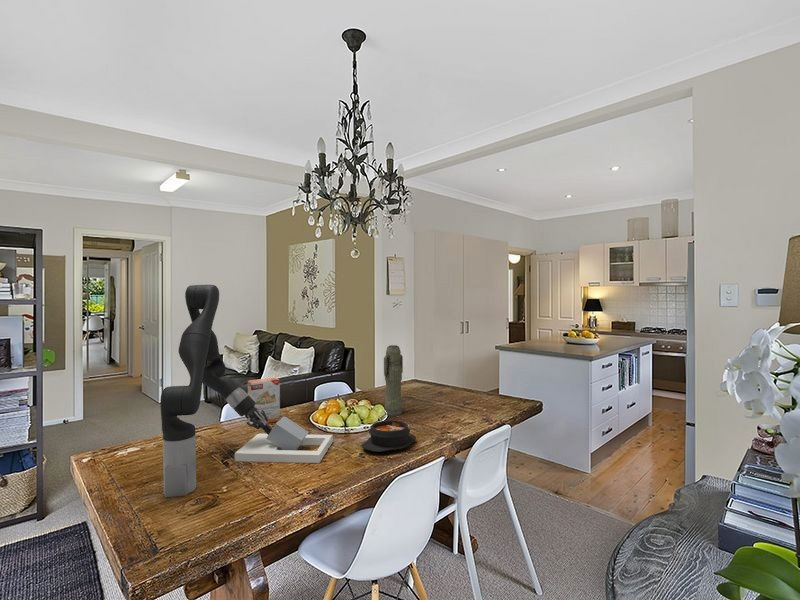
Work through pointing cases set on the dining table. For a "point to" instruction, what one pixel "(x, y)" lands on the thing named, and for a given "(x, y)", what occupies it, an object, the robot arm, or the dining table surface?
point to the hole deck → (269, 452)
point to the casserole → (388, 436)
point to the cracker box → (266, 397)
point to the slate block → (287, 434)
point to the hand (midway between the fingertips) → (271, 432)
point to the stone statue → (393, 380)
